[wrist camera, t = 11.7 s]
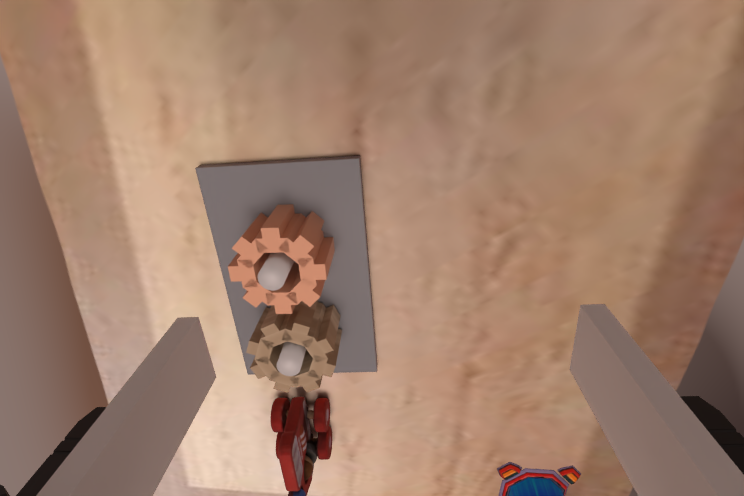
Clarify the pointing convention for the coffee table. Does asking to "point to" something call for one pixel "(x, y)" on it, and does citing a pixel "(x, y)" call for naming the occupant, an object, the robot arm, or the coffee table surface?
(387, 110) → the coffee table surface
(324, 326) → the gear
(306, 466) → the toy fire truck
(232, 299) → the gear board
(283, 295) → the loose gear
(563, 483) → the fantasy tower
